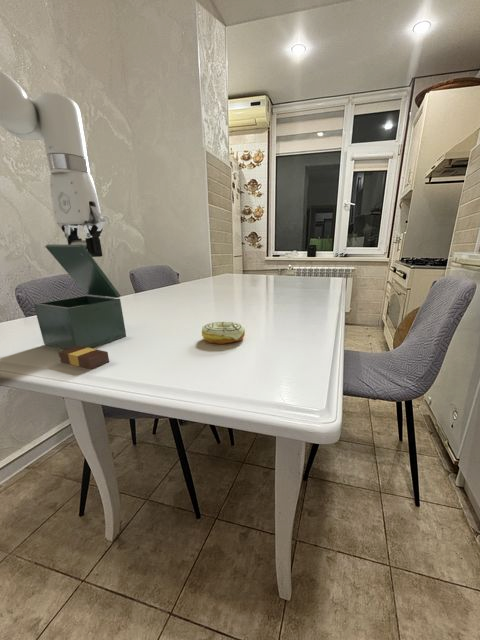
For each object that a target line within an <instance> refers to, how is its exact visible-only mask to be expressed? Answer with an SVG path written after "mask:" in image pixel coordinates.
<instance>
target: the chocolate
mask: <svg viewBox="0 0 480 640" xmlns="http://www.w3.org/2000/svg"><path fill="white" fill-rule="evenodd" d="M58 357H59V360H60V362H61V363H65V364H67V365H71V366H76V367H79V368H85V369H87V370H93V369H95V368H97V367H99V366H103V365H106V364H107V363H109V362H110V357H109V353H108V351H105V350H101V349H96V348H94V347H93V348H87V347H82V346H75V347H72V348H69V349H62V350H60V351H58Z"/></svg>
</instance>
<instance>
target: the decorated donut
mask: <svg viewBox="0 0 480 640" xmlns="http://www.w3.org/2000/svg"><path fill="white" fill-rule="evenodd" d="M245 330H246V329H245V326H244V325H243V324H241V323H238V322H233V321H232V322H231V321H214V322H209V323H207V324H204V325H203V326H202V328H201V336H202V338H203V339H204V340H205V341H206V342H208V343H211V344H217V345H221V344H223V345H225V344H231V343H235V342H240V340H243V338H245V335H246V334H245V333H246V331H245Z"/></svg>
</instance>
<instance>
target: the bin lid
mask: <svg viewBox="0 0 480 640" xmlns="http://www.w3.org/2000/svg"><path fill="white" fill-rule="evenodd" d="M44 247H45V248H46V250H47V251H48V252H49V254H51V255H52V257H53V258H54V259H55V261H57V262H58V264H59V265H60V266H61V267H62V268H63V270H64V271H65V272H66V273H67V274H68V276H70V277H71V279H72V280H73V281H74V282H75V284H77V286H78V287H79V288H80V289H81V290H82V292H83V293H84V294H85V295H90V296H99V297H108V298H117V299H120V297H121V296H122V295H121V294H120V293H119V291H118V290H117V288H116V287H115V286H114V284H113V283H112V281H111V280H110V279H109V278H108V276H107V275H106V274H105V272H104V271H103V270H102V268H101V267H100V265H99V264H98V263H97V262H96V260H95V258H94V257H92V256H91V255H90V254H89V252H88V251H87V245H86V240H85V239H84V240H83V239H82V240H74V241H72V242H71V245H68V244H46V245H44Z"/></svg>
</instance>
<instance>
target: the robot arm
mask: <svg viewBox="0 0 480 640" xmlns="http://www.w3.org/2000/svg"><path fill="white" fill-rule="evenodd" d="M83 125H84V124H83V120H82V113H81V110H80V107H79V105H78V103H76V101H74V100H73V98H70V97H68V96H66V95H63V94H60V93H58V92H57V93H56V92H50V91H49V92H47V91H45V92H44V91H43V92H40V93H39V94H37V96H36V98H35V99H33V98H31V97H29V95H28V94H27V92H26V91H25V90H24V89H23V88H22V86H21V85H20V84H19V83H18V82H16V81H15V80H14V78H13V77H11V76H9V75H8V74H7V73H5V72H4V71H3V70H2V69H0V126H1V127H2V128H3V129H4V130H5V131H7V133H8V134H10V135H12V136H13V137H15V138H17V139H20V140H25V141H41V140H42V141H43V142H44V143H43V144H44V147H45V152H46V159H47V163H48V167H49V172H50V176H49V187H50V197H51V203H52V209H53V215H54V219H55V220H54V221H55V222H56V224H57V225H58V227H60V229H61V230H62V232H63V233H64V237H65V239H66V241H67V245H71V242H72V241H74V240H83V239H82V238H80V230H81V229H80V226H82V228H83V230H84V232H85V235H86V237H85V239H84V240H86V245H87V251H88V252H89V254H90V255H91V256H92V258H99V257H100V258H101V257H103V250H102V249H103V248H102V245H101V244H102V243H101V239H102V232H103V228H104V227H105V225H106V219H105V218H104V217H103V215H102V214H101V208H100V202H99V197H98V194H97V189H96V187H95V182H94V180H93V176H92V172H91V167H90V160H89V155H88V149H87V144H86V137H85V132H84V126H83Z"/></svg>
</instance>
